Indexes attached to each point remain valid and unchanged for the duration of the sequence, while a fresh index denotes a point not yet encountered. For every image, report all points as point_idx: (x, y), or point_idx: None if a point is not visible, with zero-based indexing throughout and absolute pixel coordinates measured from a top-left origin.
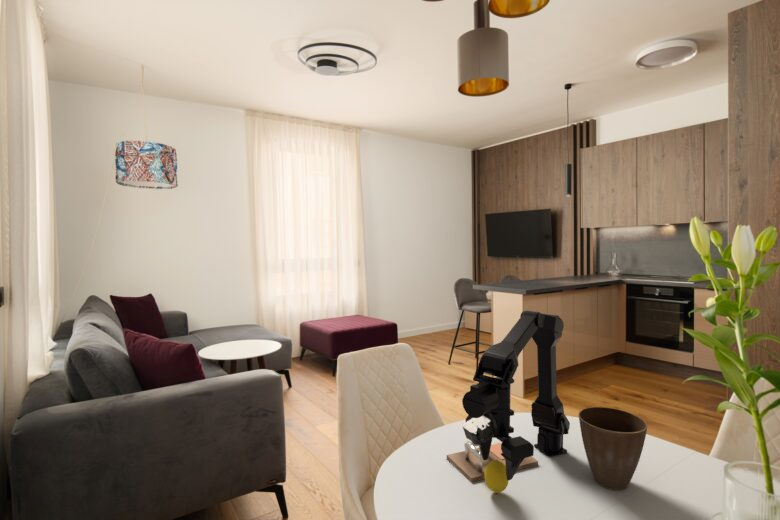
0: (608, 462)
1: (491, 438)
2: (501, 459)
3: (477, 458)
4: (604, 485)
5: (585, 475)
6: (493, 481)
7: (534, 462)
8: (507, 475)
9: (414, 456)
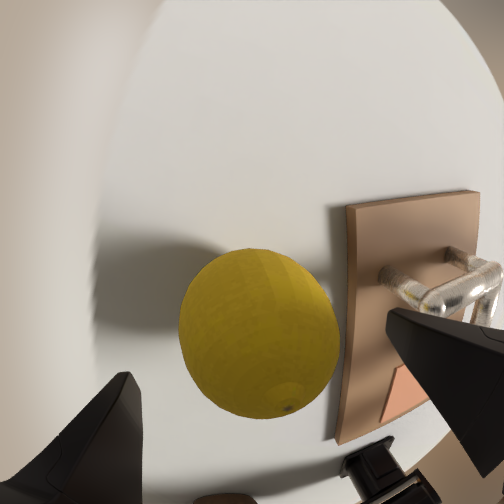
0: None
1: (461, 434)
2: (396, 369)
3: None
4: (205, 499)
5: (255, 488)
6: (194, 287)
7: (338, 438)
8: (105, 392)
9: (485, 102)
